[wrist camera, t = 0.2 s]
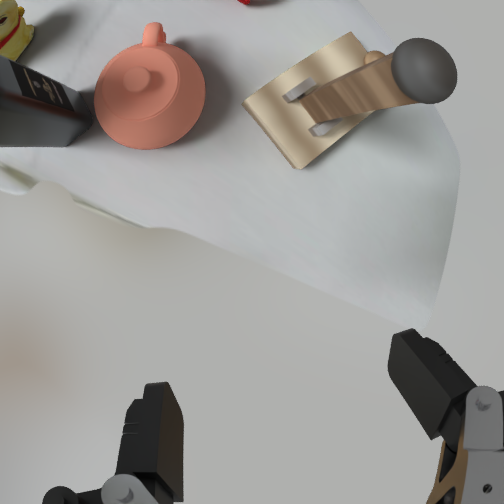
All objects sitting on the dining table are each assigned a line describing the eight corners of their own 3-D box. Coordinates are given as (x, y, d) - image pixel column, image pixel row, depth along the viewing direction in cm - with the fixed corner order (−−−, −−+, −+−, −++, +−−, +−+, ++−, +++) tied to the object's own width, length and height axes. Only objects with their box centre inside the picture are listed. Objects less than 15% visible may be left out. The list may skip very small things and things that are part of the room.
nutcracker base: (293, 168, 36) (311, 170, 31) (241, 104, 33) (250, 93, 27) (386, 95, 35) (413, 89, 30) (343, 36, 32) (366, 21, 26)
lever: (313, 131, 30) (447, 114, 12) (289, 101, 29) (406, 44, 10) (339, 111, 30) (479, 83, 12) (317, 81, 29) (444, 22, 10)
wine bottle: (78, 88, 29) (-106, 5, 1) (97, 123, 31) (-111, 78, 3) (43, 116, 29) (-154, 94, 1) (61, 151, 31) (-151, 175, 3)
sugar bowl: (97, 148, 32) (63, 146, 22) (115, 41, 28) (92, 7, 18) (197, 153, 34) (197, 151, 25) (214, 44, 30) (220, 7, 21)
